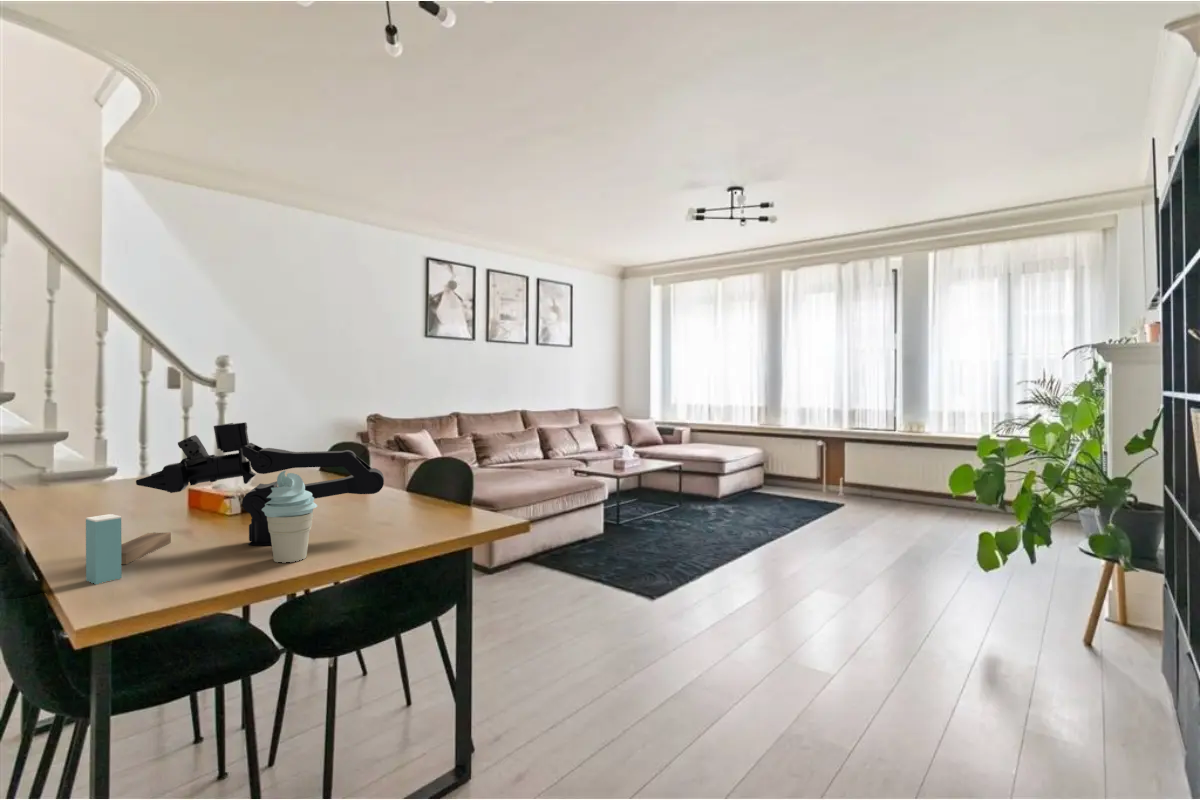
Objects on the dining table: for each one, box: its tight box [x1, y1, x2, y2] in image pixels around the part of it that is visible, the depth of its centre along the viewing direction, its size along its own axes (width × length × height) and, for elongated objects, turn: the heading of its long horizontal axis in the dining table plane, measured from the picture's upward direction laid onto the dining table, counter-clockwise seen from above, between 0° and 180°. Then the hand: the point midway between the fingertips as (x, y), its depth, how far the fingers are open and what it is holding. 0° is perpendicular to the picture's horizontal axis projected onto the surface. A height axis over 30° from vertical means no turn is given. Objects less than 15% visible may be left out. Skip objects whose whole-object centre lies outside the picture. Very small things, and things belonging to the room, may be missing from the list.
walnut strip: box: [121, 532, 172, 565], centre depth 138 cm, size 5×18×2 cm, turn 10°
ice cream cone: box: [262, 470, 318, 564], centre depth 136 cm, size 10×11×20 cm
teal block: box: [85, 513, 123, 585], centre depth 120 cm, size 4×4×12 cm
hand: (144, 479), depth 140 cm, fingers open, 9 cm apart
